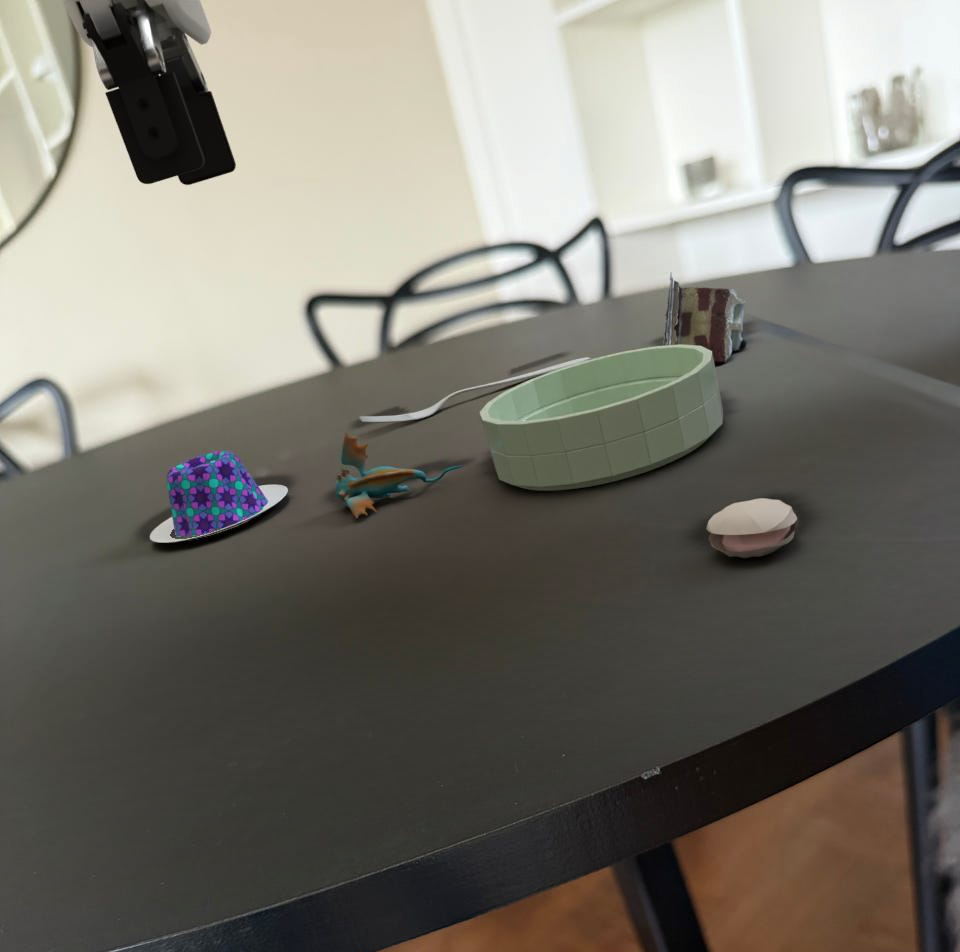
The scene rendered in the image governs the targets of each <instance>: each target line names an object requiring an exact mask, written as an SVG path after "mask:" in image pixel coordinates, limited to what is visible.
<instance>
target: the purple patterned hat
mask: <svg viewBox="0 0 960 952" xmlns="http://www.w3.org/2000/svg"><path fill="white" fill-rule="evenodd" d="M166 487H167V493H168V499H169V506H170V511H171V517H169V518H168V519H166V520H164V521H163V522H161V523H160V524H159V525H158V526H156V527H155V528H154V529H153V530H152V531H151V532H150V534H149V540H150V541H152V542H154V543H167V544H169V543H170V544H171V543H179V542H185V541H192V540H191V539H195V538H200V537H204V536H207V535H211V534H214V533H217V532H220V531H223V530H226V529H229V528H231V527H234V526H236V525H239V524H241V523H243V522H245V521H247V520H250V519H252V518H254V517H256V516H257V515H259V514H260V515H262V514H263V513H265V512H267V511H268V510H270V509H271V508H272V507H274V506H276V505H277V504H279V502H281V501H282V500H283V498H285V496H286V495H287V494H288V492H289V490H288V489H289V488H288V487H287V486H285V485H282V484H264V485H258V484H257V483H256V481H255V479H254V478H253V477H252V475H251V473H249V470H247V468H246V467H245V465H244V464H243V462H242V461H241V459H240V458H239V457H238V455H236V454H235V453H234V452H232V451H229V450H218V451H214V452H211V453H205V454H202V455H199V456H196V457H194V458H191V459H188V460H185V461H183V462H181V463H179V464H178V465H176V466H174V467H172V468H171V469H170V470H168V472H167V474H166ZM261 513H262V514H261ZM260 515H259V516H260ZM257 517H258V516H257ZM257 517H256V518H257ZM244 519H245V520H244ZM254 519H255V518H254ZM173 529H174V530H175V535H176V537H183V536H187V535H191V536H197V537H192V538H187V539H175V538H172V537H171V536H170V534H171V532H172V530H173ZM217 529H220V530H217ZM213 530H217V531H214V532H211V531H213ZM209 532H211V533H209ZM206 533H207V534H206ZM203 534H204V535H203ZM199 535H200V536H199Z"/></svg>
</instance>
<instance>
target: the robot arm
mask: <svg viewBox="0 0 960 952" xmlns="http://www.w3.org/2000/svg"><path fill="white" fill-rule="evenodd" d="M62 1H63V4H64V6H65V8H66V11H67V13H68V15H69V18H70V19H71V22H72V24H73V27H74V28H75V30H76V32H77V34H78V35H79V36H80V38H81V39H82V41H83V42H84V43H86V44H87V46H89V47H91V48H92V50H93V56H94V61H95V67H96V70H97V73H98V76H99V78H100V81H101V82H102V84H103V86H104V88H105V89H106V90H107V91H106V92H104V94H105V96H106V100H107V102H108V105H109V107H110V110H111V113H112V115H113V117H114V120H115V123H116V125H117V128H118V131H119V133H120V136H121V139H122V141H123V144H124V147H125V149H126V153H127V154H128V157H129V160H130V162H131V165H132V168H133V170H134V174H135V176H136V178H137V180H138V181H139V182H140V183H141V184H144V185H152V184H155V183H158V182H161V181H165V180H168V179H172V178H176V177H177V178H178V180H179V182H180V183H181V184H183V185H184V186H190V185H194V184H197V183H200V182H203V181H207V180H210V179H213V178H217V177H220V176H223V175H226V174H230V173H232V172H234V171H235V170H236V168H237V167H236V166H237V164H236V163H237V162H236V160H235V156H234V155H233V152H232V149H231V145H230V143H229V140H228V137H227V134H226V129H225V128H224V127H225V126H224V125H223V121H222V119H221V115H220V112H219V109H218V107H217V104H216V102H215V98H214V96H213V92H212V90H209V87H208V84H207V81H206V78H205V76H204V73H203V71H202V69H201V67H200V65H199V62H198V60H197V58H196V55H195V53H194V51H193V49H192V46H191V44H190V42H189V40H188V37H190V39H192V40H194V41H195V42H196V43H198V44H199V45H206V44H207V43H208V42H209V40H210V38H211V34H212V29H211V27H210V23H209V21H208V18H207V16H206V13H205V10H204V7H203V5H202V2H201V0H62Z"/></svg>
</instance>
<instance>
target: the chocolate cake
mask: <svg viewBox="0 0 960 952" xmlns="http://www.w3.org/2000/svg"><path fill="white" fill-rule="evenodd" d="M672 274H673V273H670V276H669V289H668V297H667V308H666V311H665V314H664V316H665V324H664V332H663V341H662V346H667V345H681V344H682V345H695V346H703V347H705V348H707V349H709V350H711V351H712V353H713V359H714V363H726V361H727V360H729V358H731V355H732V353H733V351H737V350H738V351H739V350H744V349H745V348H746V346H747V340H746V339H743V337H742V333H743V330H744V326H743V325H744V318H745V317H744V315H745V311H744V307H745V305H746V301H745V300H744V299H743V298H742V297H738V294H737V291H736V289H733V288H728V287H727V288H725V287H723V288H721V287H714V288H713V287H692V286H691V287H682V286H680V282H678V281H676V280H674V279H673V276H672Z"/></svg>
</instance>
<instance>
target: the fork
mask: <svg viewBox="0 0 960 952" xmlns="http://www.w3.org/2000/svg"><path fill="white" fill-rule="evenodd" d="M591 359H592V358H591V357H588V356H587V357H586V356H585V357H581V358H577V359H572V360H568V361H566V362H561V363H558V364H555V365H551V366H548V367H544V368H542V369H538V370H534V371H530V372H528V373H523V374H521V375H517V376H513V377H509V378H505V379H502V380H498V381H494V382H493V381H492V382H489V383H485V384H481V385H477V386H472V387H467V388H464V389H460V390H457V391H454V392H452V393H450V394H449V395H446V396H445V397H444V398H442V399H441V400H439V401H438V402H436V403H435V404H433V405H432V406H430V407H427V408H425V409H422V410H418V411H414V412H409V413H404V414H398V415H397V414H396V415H380V416H379V415H377V416H376V415H375V416H374V415H370V416H369V415H368V416H367V415H360V416H359V417H358V418H359V420H360V421H361V422H362V423H369V424H370V423H371V424H374V423H375V424H379V423H380V424H383V423H402V422H403V423H404V422H410V421H417V420H422V419H425V418H428V417H430V416H433V415H434V414H435V413H437V412H438V410H439V409H441V408H442V406H443V405H444V404H445V403H446V402H448V401H449V400H451V399H453V397H456V396H458V395H461V394H464V393H469V392H472V391H477V390H482V389H487V388H491V387H495V386H500V385H501V386H502V385H505V384H509V383H514V382H518V381H522V380H525V379H529V378H535V377H539V376H541V375H544V374H547V373H549V372H552V371H555V370H557V369H560V368H564V367H567V366H570V365H574V364H577V363H580V362H584V361H587V360H591Z"/></svg>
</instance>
